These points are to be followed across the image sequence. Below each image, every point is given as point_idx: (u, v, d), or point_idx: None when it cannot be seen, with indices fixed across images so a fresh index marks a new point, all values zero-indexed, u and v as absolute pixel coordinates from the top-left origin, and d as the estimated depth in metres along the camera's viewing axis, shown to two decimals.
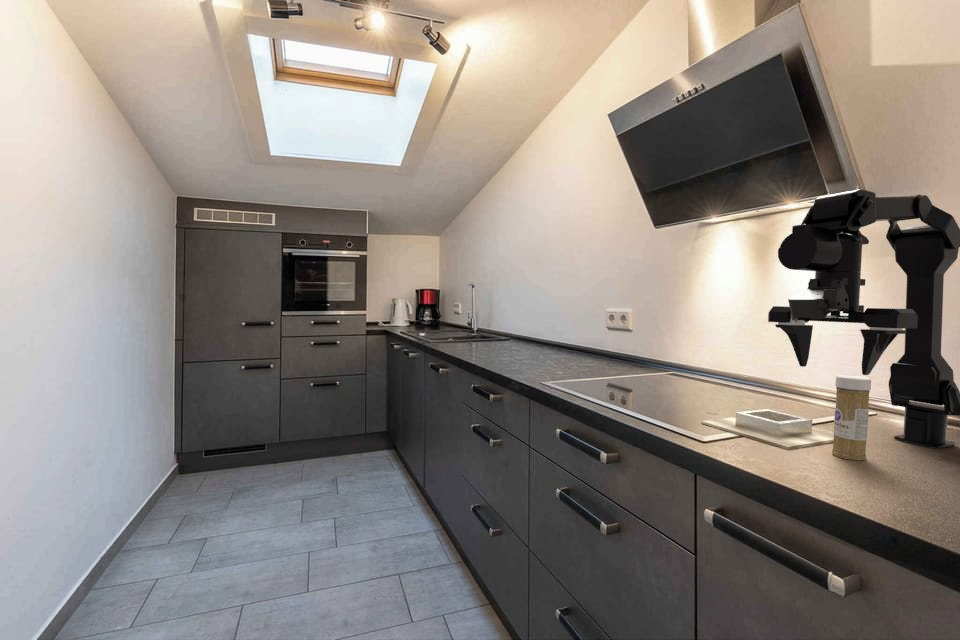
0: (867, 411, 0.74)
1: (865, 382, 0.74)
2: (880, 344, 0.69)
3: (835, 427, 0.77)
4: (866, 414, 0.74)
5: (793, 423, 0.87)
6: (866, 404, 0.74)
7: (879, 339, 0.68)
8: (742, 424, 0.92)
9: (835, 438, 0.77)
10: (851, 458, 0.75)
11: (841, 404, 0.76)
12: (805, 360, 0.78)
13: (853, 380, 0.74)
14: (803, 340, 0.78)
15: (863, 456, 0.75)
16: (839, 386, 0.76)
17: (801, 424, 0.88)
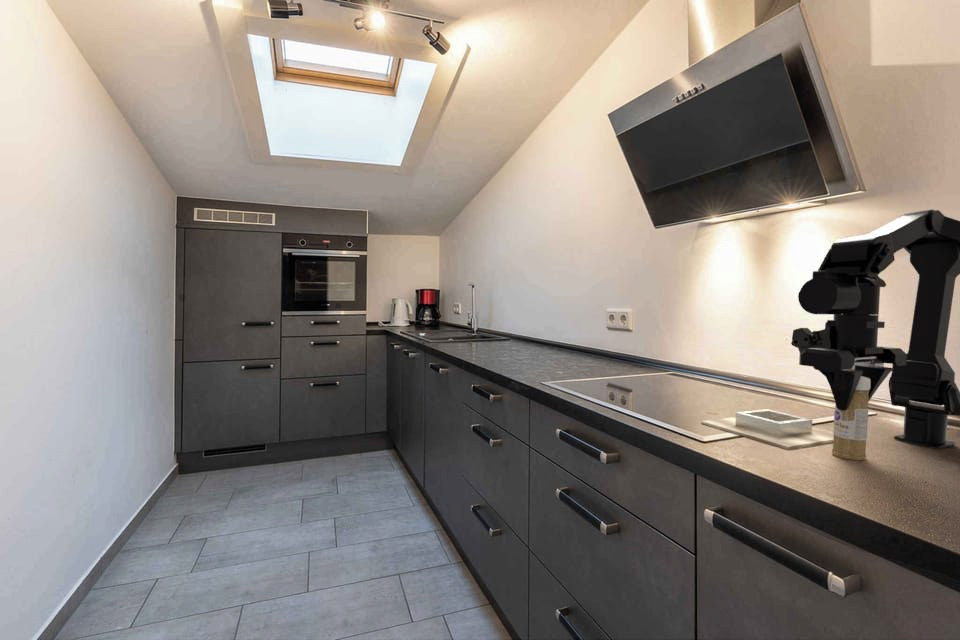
0: (867, 411, 0.74)
1: (865, 382, 0.74)
2: (844, 382, 0.74)
3: (835, 427, 0.77)
4: (866, 414, 0.74)
5: (793, 423, 0.87)
6: (866, 404, 0.74)
7: (843, 377, 0.74)
8: (742, 424, 0.92)
9: (835, 438, 0.77)
10: (851, 458, 0.75)
11: None
12: None
13: None
14: None
15: (863, 456, 0.75)
16: None
17: (801, 424, 0.88)
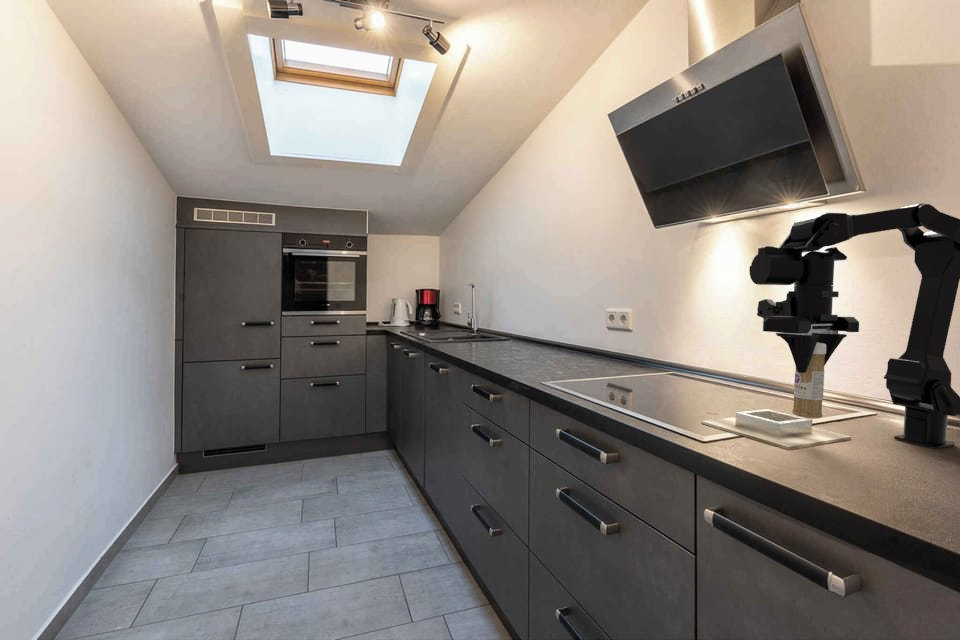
0: (823, 373, 0.82)
1: (821, 346, 0.81)
2: (803, 347, 0.81)
3: (795, 389, 0.84)
4: (822, 376, 0.82)
5: (793, 423, 0.87)
6: (822, 367, 0.82)
7: (802, 342, 0.81)
8: (742, 424, 0.92)
9: (795, 399, 0.84)
10: (809, 416, 0.82)
11: None
12: None
13: None
14: None
15: (819, 414, 0.82)
16: None
17: (801, 424, 0.88)
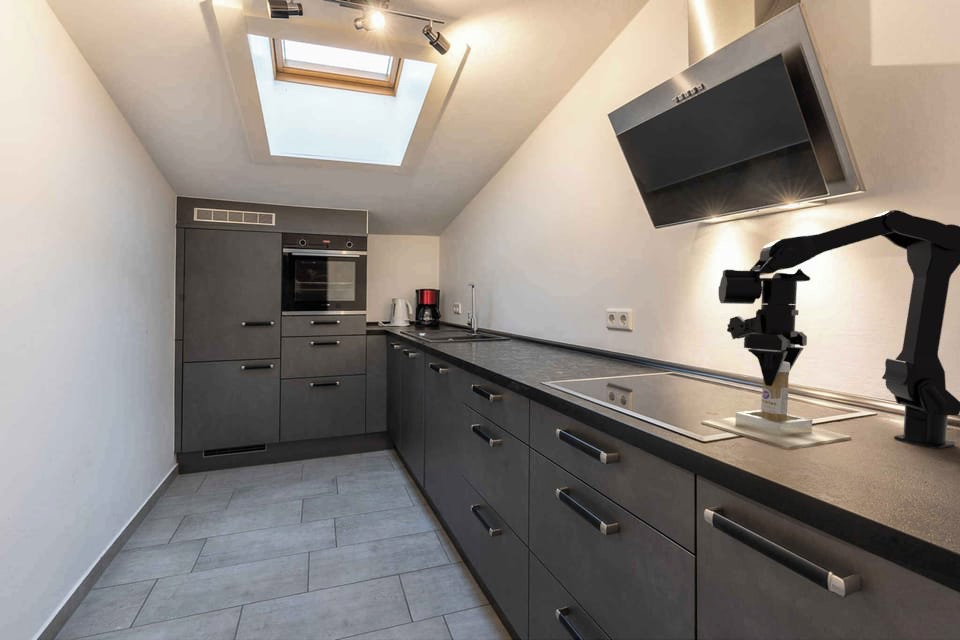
0: None
1: (788, 365, 0.89)
2: (772, 362, 0.87)
3: (764, 404, 0.91)
4: (787, 392, 0.90)
5: (793, 423, 0.87)
6: (787, 383, 0.89)
7: (771, 358, 0.87)
8: (742, 424, 0.92)
9: (764, 414, 0.91)
10: None
11: None
12: None
13: None
14: None
15: None
16: None
17: (801, 424, 0.88)
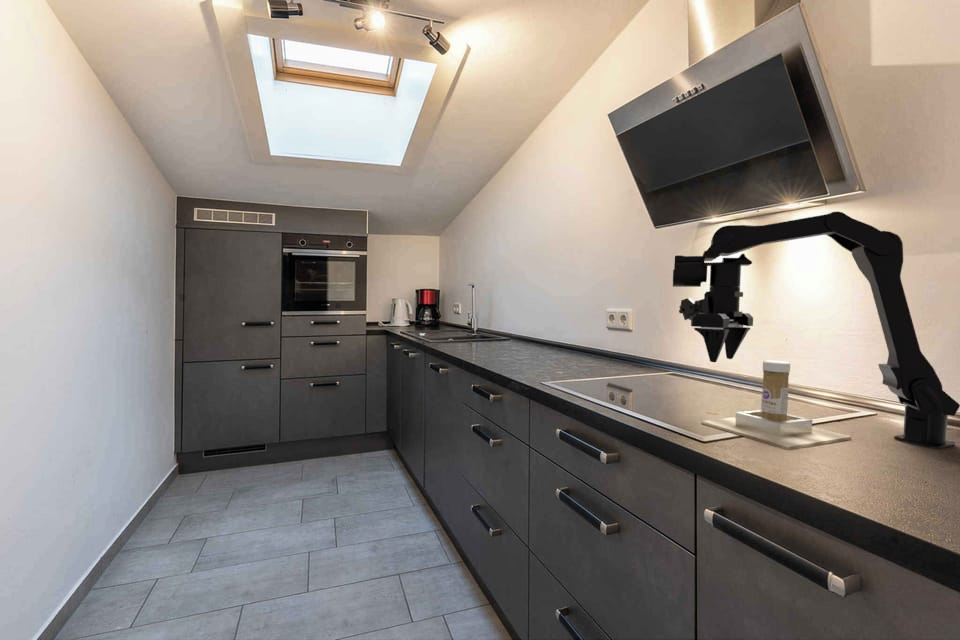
0: None
1: (788, 365, 0.89)
2: (716, 339, 0.93)
3: (764, 404, 0.91)
4: (787, 392, 0.90)
5: (793, 423, 0.87)
6: (787, 383, 0.89)
7: (715, 336, 0.94)
8: (742, 424, 0.92)
9: (764, 414, 0.91)
10: None
11: (770, 385, 0.90)
12: (730, 354, 1.01)
13: (779, 364, 0.89)
14: (731, 338, 1.01)
15: None
16: (768, 370, 0.90)
17: (801, 424, 0.88)
